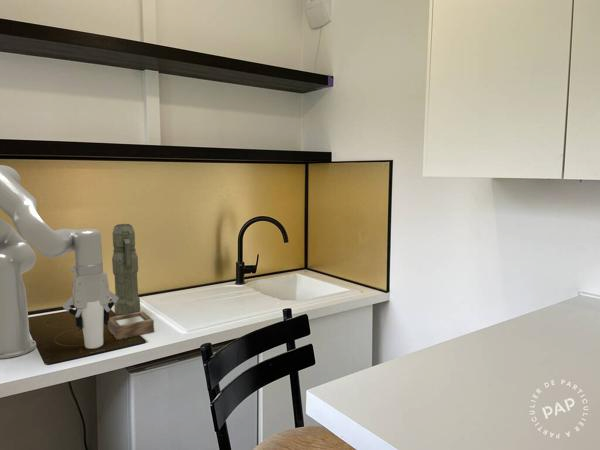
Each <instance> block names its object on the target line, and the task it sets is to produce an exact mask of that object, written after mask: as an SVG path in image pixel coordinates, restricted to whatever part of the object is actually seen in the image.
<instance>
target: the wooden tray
mask: <svg viewBox="0 0 600 450" xmlns="http://www.w3.org/2000/svg"><path fill="white" fill-rule="evenodd" d="M107 329H108V331H109V332H110V334H113V335H114V336H113V335H112V336H113V338H115V339H116V341H119V340H123V338H124V339H128V337H129V338H132V337H138V336H142V335H148V334H151V333H155V322H154V319H153V318H152V317H150V315H148V314H147V313H146V312H145V311H143V310H140V312H136V313H130V314H125V315H120V316H116V315H115V316H109V321H108V324H107ZM118 339H119V340H118Z"/></svg>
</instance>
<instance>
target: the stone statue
mask: <svg viewBox="0 0 600 450" xmlns="http://www.w3.org/2000/svg"><path fill="white" fill-rule="evenodd" d="M135 234H136V233H135V229H134V227H133V225H132V224H130V223H120V224H119V223H118V224H116V225H115V226H114V227H113V230H112V247H113V251H112V252H113V254H112V257H111V263H112V266H111V267H112V273H113V276H114V291H115V293H114V294H115V295H116V296H118V297H119V299H118V300H117V302H116V303H115V304H114V313H115V316H120V315H125V314H130V313H136V312H141V299H140V296H139V288H138V273H139V261H138V259H139V258H138V255H137V254H138V253H137V251H136V247H135V246H136V235H135Z"/></svg>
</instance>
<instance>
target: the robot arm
mask: <svg viewBox="0 0 600 450" xmlns="http://www.w3.org/2000/svg"><path fill="white" fill-rule="evenodd" d="M37 204H38V203H37V199H36V198H35V197H34V196H33V195H32V194H31V193H30V192H28V191H27V190H26V189H25V188H24V187H23V185H21V176H20V174H19V173H18V171H16V169H14V168H13V167H11V166H8V165H5V164H4V165H3V164H1V165H0V209H1V210H2V212H3V213H5V215H7V216H8V217H9V218H10V219H11V220H12V223H13V225H14V227H15V228H14V227H13V226H12V225H11V224H10V223H9V222H7V221H5V220H4V219H2V218H0V359H10V358H15V357H19V356H22V355H26V354H29V352H31V351H33V350H36V349H35V348H36V347H37V342H36V341H35V339H34V340H33V339H31V335H30V325H29V313H28V312H29V311H28V299H27V291H26V286H25V283H24V280H23V276H22V275H23V274H25V273H27V272H29V271H30V270H32V269H33V267H34V266H35V265H36V262H37V256H36V252H35V251H37V253H39V254H41V255H42V256H44V257H47V258H50V259H55V258H59V257H61V256H63V255H65V254H68V253H71V252H74V263H75V265H74V266H73V267H70V273H74V275H73V277H72V279H73V280H72V295H71V296H70V298H68V299H67V300H66V301H65V302H64V303H63V304H62V308H63V309H64V310H66V311H67V312H68V313H70V314H71V315H72V316H74V318H75V327H78V329H79V331H82V330H83V329H82V317H81V315H80V314H81V311H82V309H85V308H87V303H88V302H96V301H99V302H100V305H101V306H102V305H103V306H104V325H106V326H108V321H109V317H110V311H111V310H112V308H113V307H115V305H114V304H115V303H116V302H117V300H118V299H119V297H118V296H116V295H115V293H114V292H111V290H110V284H109V280H108V276H107V275H108V274H107V272H106V271H104V266H103V248H102V235H101V232H100V230H99V229H96V228H86V229H85V228H83V229H74V228H60V229H59V228H58V229H55V230H54V229H52V228H51V227H50V226H49V225H48V223H46V222H45V221H44V220H43V219H42V218H41V217H40V215H39V212H38V210H37ZM34 250H35V251H34ZM71 305H74V308H75V309H74V308H72V307H71Z"/></svg>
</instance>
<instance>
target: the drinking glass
mask: <svg viewBox="0 0 600 450" xmlns="http://www.w3.org/2000/svg"><path fill="white" fill-rule="evenodd" d="M80 315H81V317H82V329H81V330H82V333H83V335H82V336H83V340H84V341H83V343H84V347H85V349H89V350H90V349H91V350H92V349H98V348H101V347H102V346H103V345H104V325H105V324H104V306H103V305H102V306H101V305H100V302H99V301H96V302H88V303H87V308H85V309H82V311H81V314H80Z"/></svg>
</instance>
